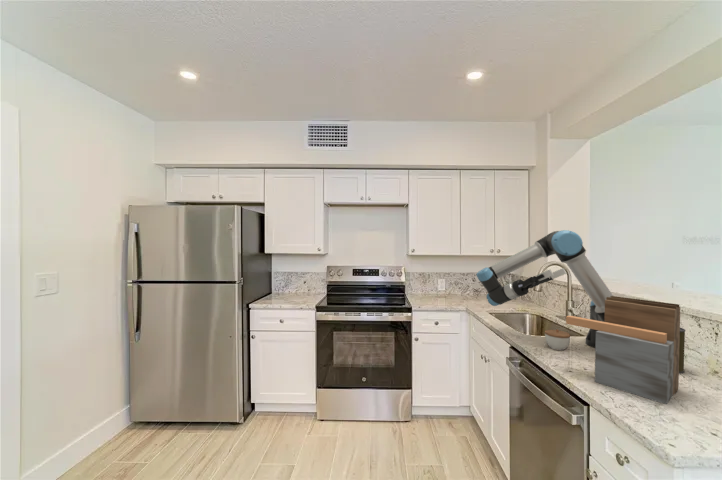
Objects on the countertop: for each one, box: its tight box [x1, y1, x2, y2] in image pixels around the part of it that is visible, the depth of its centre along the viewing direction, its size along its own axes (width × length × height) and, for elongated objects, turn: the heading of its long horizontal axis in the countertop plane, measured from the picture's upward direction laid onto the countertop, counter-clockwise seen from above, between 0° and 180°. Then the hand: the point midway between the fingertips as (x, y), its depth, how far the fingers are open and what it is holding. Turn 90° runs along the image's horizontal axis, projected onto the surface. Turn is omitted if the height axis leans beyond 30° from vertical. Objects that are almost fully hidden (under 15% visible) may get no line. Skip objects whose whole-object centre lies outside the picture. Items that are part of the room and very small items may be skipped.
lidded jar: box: [544, 328, 571, 351], centre depth 159 cm, size 11×11×9 cm
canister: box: [679, 327, 686, 374], centre depth 136 cm, size 11×10×20 cm
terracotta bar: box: [565, 315, 667, 344], centre depth 122 cm, size 3×30×3 cm, turn 37°
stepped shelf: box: [594, 295, 681, 405], centre depth 119 cm, size 18×20×31 cm
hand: (558, 271), depth 143 cm, fingers open, 13 cm apart
